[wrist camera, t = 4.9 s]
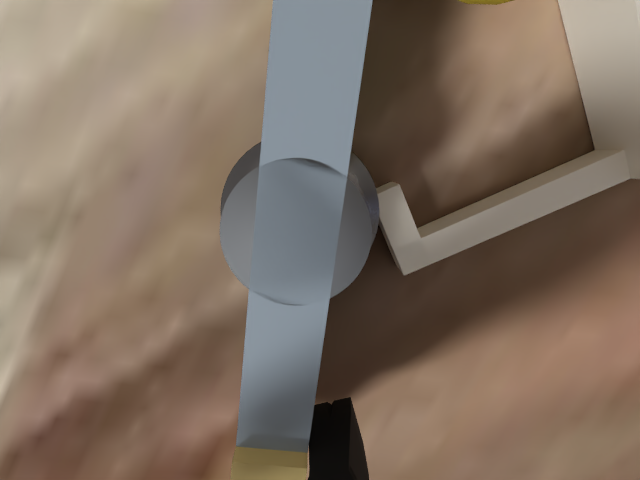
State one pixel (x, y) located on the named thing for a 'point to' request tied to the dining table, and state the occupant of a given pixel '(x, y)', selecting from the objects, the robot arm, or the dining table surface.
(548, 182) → the cream l-shaped bracket
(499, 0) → the lemon
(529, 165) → the dining table surface
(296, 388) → the lever
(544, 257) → the dining table surface
